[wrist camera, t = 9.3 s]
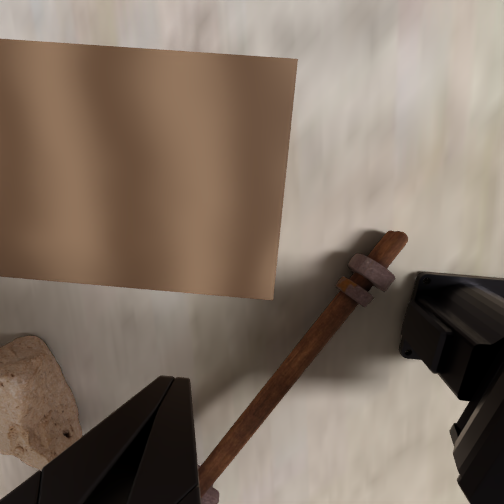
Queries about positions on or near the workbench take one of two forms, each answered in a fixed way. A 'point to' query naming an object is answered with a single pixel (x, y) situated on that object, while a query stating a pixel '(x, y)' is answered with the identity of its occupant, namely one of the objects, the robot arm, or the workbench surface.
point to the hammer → (304, 354)
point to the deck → (143, 166)
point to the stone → (35, 404)
